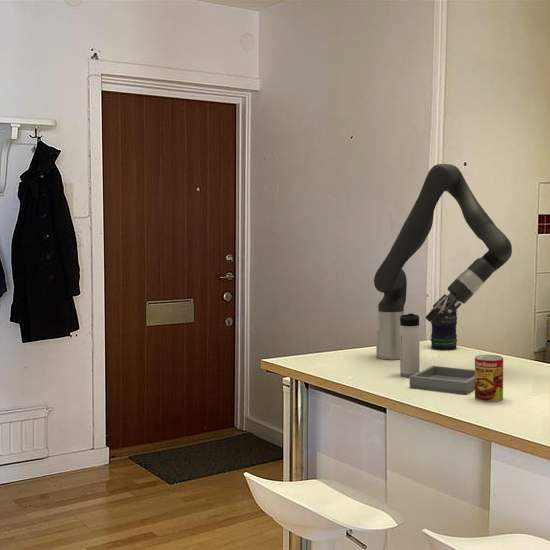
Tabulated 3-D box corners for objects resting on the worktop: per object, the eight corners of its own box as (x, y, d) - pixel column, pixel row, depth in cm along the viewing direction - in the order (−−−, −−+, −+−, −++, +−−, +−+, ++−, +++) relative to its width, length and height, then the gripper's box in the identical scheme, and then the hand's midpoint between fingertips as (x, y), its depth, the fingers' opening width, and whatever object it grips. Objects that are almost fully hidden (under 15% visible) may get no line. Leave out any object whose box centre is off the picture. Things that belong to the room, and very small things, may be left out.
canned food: (469, 398, 228) (469, 357, 227) (483, 393, 234) (484, 353, 233) (493, 403, 223) (494, 361, 222) (508, 397, 228) (508, 356, 227)
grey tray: (409, 387, 243) (409, 376, 243) (432, 376, 258) (432, 365, 257) (466, 394, 233) (466, 382, 233) (486, 382, 248) (486, 371, 248)
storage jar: (426, 347, 309) (425, 309, 307) (447, 345, 312) (447, 307, 311) (439, 351, 299) (439, 312, 298) (462, 349, 303) (462, 310, 302)
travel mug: (421, 373, 262) (420, 313, 260) (417, 377, 256) (417, 316, 254) (402, 372, 264) (401, 313, 262) (398, 376, 258) (398, 315, 256)
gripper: (451, 276, 265) (417, 311, 265) (464, 280, 251) (428, 317, 251) (466, 291, 266) (433, 326, 266) (480, 296, 252) (444, 333, 252)
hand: (430, 321), depth 259 cm, fingers open, 8 cm apart
